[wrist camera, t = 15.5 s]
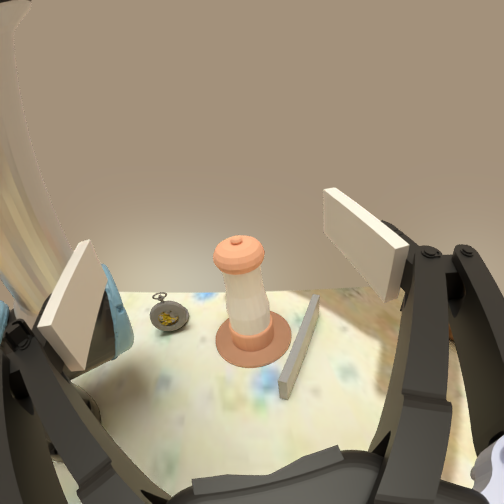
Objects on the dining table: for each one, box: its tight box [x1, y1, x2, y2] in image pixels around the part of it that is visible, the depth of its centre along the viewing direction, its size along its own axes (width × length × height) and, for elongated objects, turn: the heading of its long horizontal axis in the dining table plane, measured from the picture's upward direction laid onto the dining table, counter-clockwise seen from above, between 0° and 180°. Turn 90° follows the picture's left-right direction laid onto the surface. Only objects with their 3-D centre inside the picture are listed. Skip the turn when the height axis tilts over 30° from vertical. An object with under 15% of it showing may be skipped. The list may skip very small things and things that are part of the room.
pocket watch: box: [150, 292, 189, 331], centre depth 50 cm, size 8×8×10 cm
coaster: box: [216, 311, 291, 368], centre depth 48 cm, size 13×13×1 cm
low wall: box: [278, 294, 320, 400], centre depth 42 cm, size 1×18×5 cm, turn 157°
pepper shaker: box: [213, 235, 274, 351], centre depth 43 cm, size 7×7×19 cm
